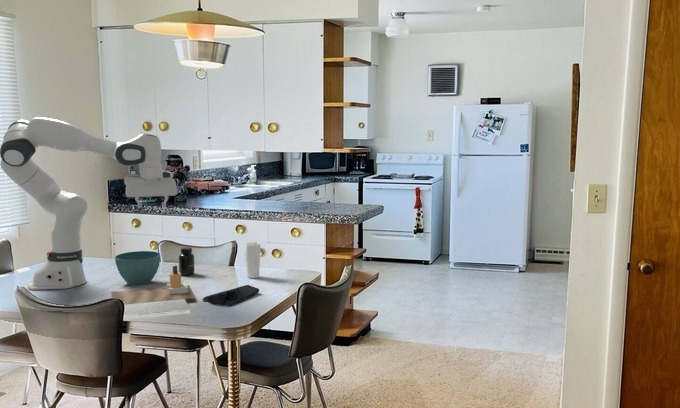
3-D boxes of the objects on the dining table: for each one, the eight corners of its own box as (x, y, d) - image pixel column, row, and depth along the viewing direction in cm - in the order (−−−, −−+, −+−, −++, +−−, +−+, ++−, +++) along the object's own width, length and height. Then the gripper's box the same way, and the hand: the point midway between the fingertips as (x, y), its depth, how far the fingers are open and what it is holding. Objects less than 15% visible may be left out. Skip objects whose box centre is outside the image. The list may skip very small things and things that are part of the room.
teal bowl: (147, 290, 253) (146, 260, 252) (107, 287, 257) (106, 258, 255) (168, 279, 271) (167, 251, 269) (130, 277, 274) (129, 250, 273)
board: (111, 309, 226) (111, 305, 226) (111, 295, 245) (111, 291, 245) (195, 301, 237) (195, 297, 237) (189, 288, 255) (189, 285, 255)
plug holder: (169, 294, 242) (168, 289, 241) (167, 288, 250) (166, 284, 249) (187, 292, 244) (187, 287, 244) (185, 287, 252) (185, 282, 252)
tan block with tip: (171, 292, 244) (170, 267, 243) (170, 290, 248) (169, 265, 246) (181, 291, 245) (180, 266, 244) (180, 289, 249) (179, 264, 248)
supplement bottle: (192, 276, 277) (191, 249, 275) (177, 276, 277) (176, 249, 275) (196, 272, 284) (195, 246, 282) (181, 272, 284) (180, 246, 282)
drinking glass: (262, 275, 279) (261, 242, 277) (258, 279, 272) (258, 245, 270) (247, 275, 279) (247, 242, 277) (243, 278, 273) (243, 245, 271)
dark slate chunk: (265, 295, 248) (265, 283, 247) (228, 308, 230) (227, 296, 229) (236, 289, 256) (236, 278, 256) (197, 302, 238) (197, 290, 237)
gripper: (124, 174, 248) (125, 209, 250) (176, 173, 255) (177, 207, 257) (123, 173, 254) (125, 207, 255) (175, 172, 261) (176, 205, 263)
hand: (152, 207), depth 256 cm, fingers open, 8 cm apart
